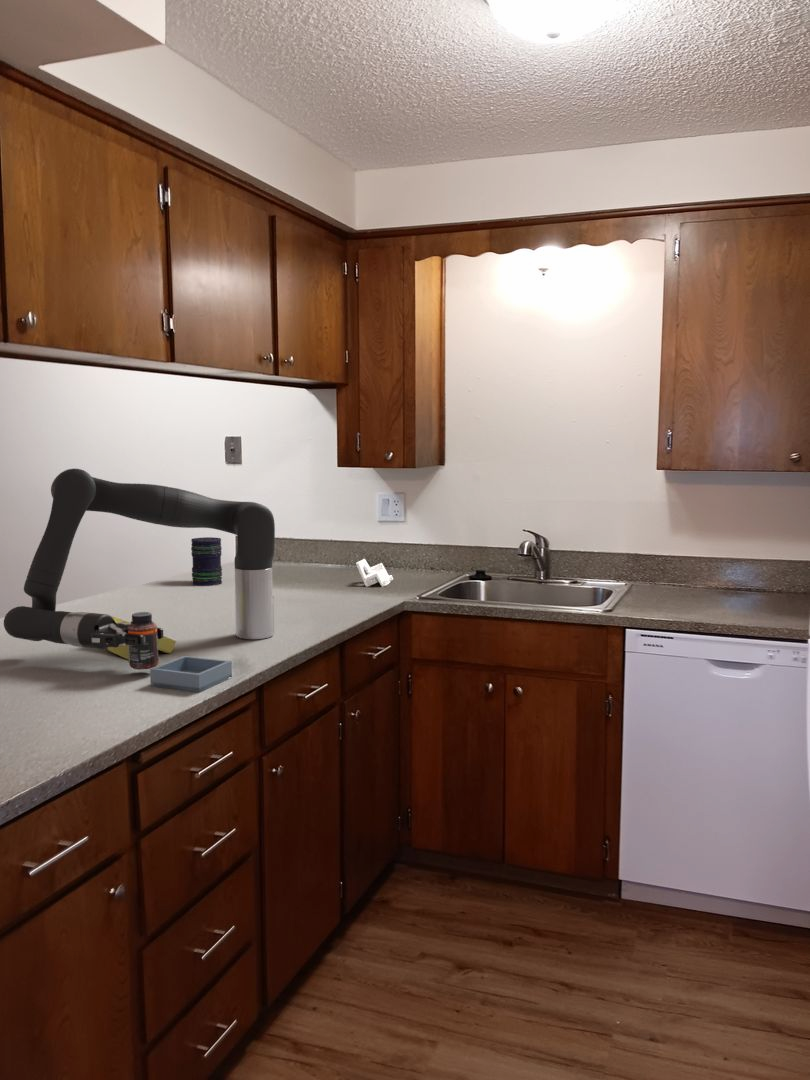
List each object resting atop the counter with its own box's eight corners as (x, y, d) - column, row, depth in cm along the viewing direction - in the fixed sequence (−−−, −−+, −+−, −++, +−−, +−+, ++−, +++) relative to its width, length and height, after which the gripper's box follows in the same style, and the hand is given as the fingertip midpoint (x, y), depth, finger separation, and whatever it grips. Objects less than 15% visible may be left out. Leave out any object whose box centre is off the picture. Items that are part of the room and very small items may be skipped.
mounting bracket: (378, 587, 310) (365, 558, 310) (394, 580, 309) (381, 551, 309) (368, 593, 299) (355, 563, 299) (385, 586, 297) (372, 555, 297)
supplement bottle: (149, 661, 196) (148, 609, 194) (164, 666, 192) (162, 613, 190) (124, 666, 192) (122, 613, 190) (138, 671, 187) (136, 618, 186)
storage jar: (186, 585, 300) (185, 540, 298) (199, 580, 310) (198, 537, 308) (214, 586, 298) (213, 541, 296) (227, 581, 308) (226, 537, 306)
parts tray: (184, 671, 193) (184, 655, 193) (231, 677, 189) (231, 661, 189) (150, 686, 183) (150, 668, 182) (199, 692, 178) (199, 674, 178)
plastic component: (180, 642, 210) (146, 630, 203) (167, 673, 209) (133, 661, 202) (133, 623, 223) (100, 611, 216) (121, 652, 222) (87, 641, 215)
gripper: (63, 619, 189) (129, 626, 183) (109, 606, 202) (173, 612, 196) (65, 655, 190) (131, 663, 184) (111, 639, 203) (174, 646, 197)
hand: (152, 637), depth 190 cm, fingers closed on supplement bottle, 6 cm apart
